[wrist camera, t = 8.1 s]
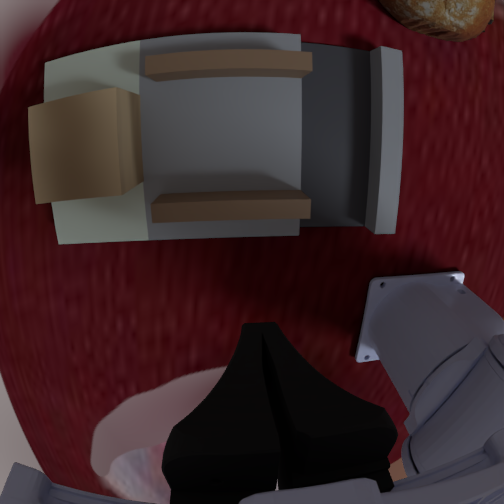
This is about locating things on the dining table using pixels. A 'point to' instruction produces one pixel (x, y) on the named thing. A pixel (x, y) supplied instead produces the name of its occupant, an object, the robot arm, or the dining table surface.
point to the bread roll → (443, 17)
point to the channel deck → (244, 137)
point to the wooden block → (86, 145)
